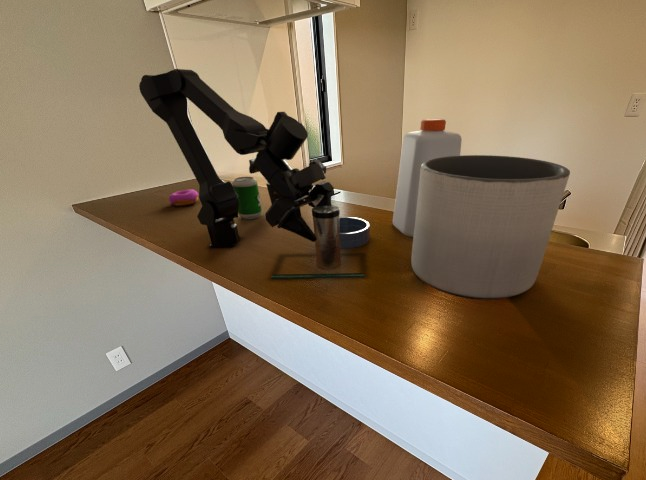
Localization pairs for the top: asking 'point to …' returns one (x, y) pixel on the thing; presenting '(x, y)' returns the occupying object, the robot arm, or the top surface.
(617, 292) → the top surface
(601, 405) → the top surface
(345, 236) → the blue bowl
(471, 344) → the top surface
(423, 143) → the plastic bottle
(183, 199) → the donut
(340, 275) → the mat
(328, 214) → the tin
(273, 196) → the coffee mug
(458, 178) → the planter
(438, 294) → the top surface
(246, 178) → the soda can
